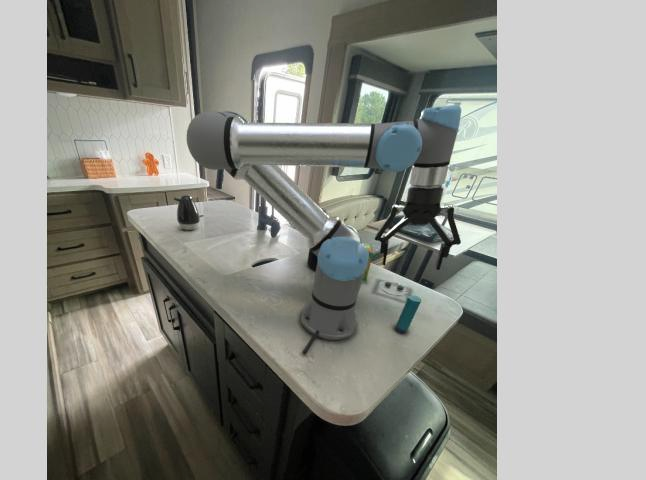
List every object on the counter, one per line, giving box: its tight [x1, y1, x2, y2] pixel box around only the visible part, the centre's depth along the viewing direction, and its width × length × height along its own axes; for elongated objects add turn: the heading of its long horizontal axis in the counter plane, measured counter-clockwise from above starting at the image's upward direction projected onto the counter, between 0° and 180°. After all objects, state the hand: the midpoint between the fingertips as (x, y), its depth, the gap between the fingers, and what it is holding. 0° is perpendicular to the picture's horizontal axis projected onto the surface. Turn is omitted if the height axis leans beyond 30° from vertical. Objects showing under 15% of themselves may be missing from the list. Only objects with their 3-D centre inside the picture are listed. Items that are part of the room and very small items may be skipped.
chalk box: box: [362, 242, 374, 282], centre depth 96 cm, size 9×9×15 cm
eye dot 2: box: [396, 285, 405, 291], centre depth 91 cm, size 2×2×1 cm
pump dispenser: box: [173, 194, 201, 231], centre depth 124 cm, size 10×10×15 cm
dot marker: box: [394, 294, 422, 335], centre depth 72 cm, size 3×3×11 cm
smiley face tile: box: [378, 280, 409, 297], centre depth 92 cm, size 10×11×1 cm
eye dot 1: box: [384, 282, 392, 288], centre depth 92 cm, size 2×2×1 cm
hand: (409, 265), depth 75 cm, fingers open, 13 cm apart
